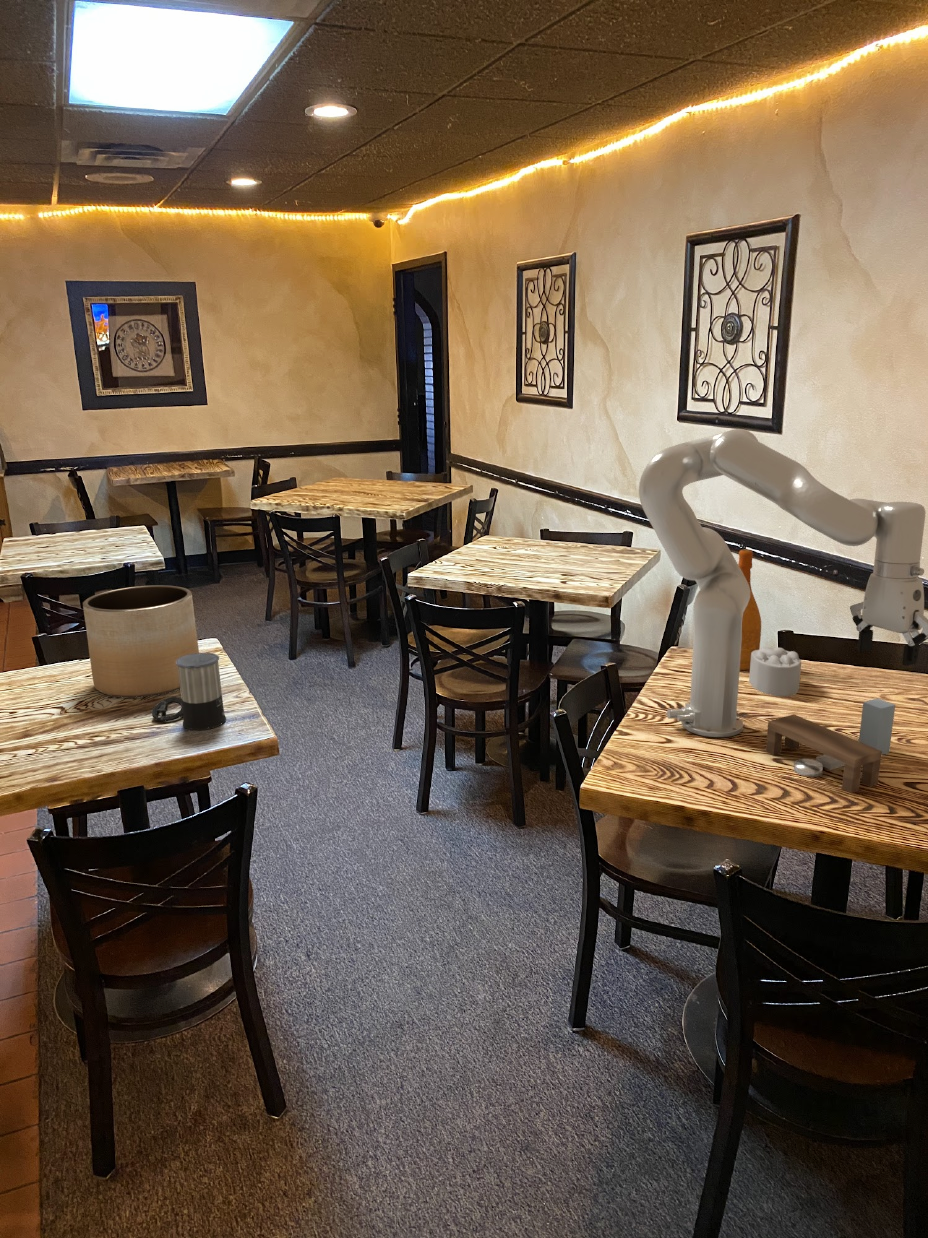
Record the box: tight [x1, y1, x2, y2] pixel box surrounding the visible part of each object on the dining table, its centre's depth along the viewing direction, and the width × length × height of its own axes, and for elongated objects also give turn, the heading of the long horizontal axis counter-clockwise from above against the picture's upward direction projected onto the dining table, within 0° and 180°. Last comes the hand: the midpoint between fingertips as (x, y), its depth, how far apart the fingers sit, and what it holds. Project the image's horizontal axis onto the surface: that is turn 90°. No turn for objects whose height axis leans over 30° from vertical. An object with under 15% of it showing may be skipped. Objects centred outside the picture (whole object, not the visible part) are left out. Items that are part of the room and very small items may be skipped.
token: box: [793, 758, 824, 778], centre depth 162 cm, size 5×5×2 cm
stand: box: [765, 713, 883, 794], centre depth 162 cm, size 7×20×6 cm, turn 27°
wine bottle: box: [737, 548, 762, 671], centre depth 215 cm, size 10×10×30 cm
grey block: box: [815, 697, 896, 771], centre depth 166 cm, size 16×4×10 cm, turn 117°
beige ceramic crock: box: [82, 585, 200, 699], centre depth 213 cm, size 25×25×22 cm
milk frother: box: [151, 652, 227, 731], centre depth 189 cm, size 14×16×15 cm
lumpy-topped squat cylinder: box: [748, 647, 802, 698], centre depth 203 cm, size 10×13×9 cm
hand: (886, 657), depth 164 cm, fingers open, 9 cm apart
